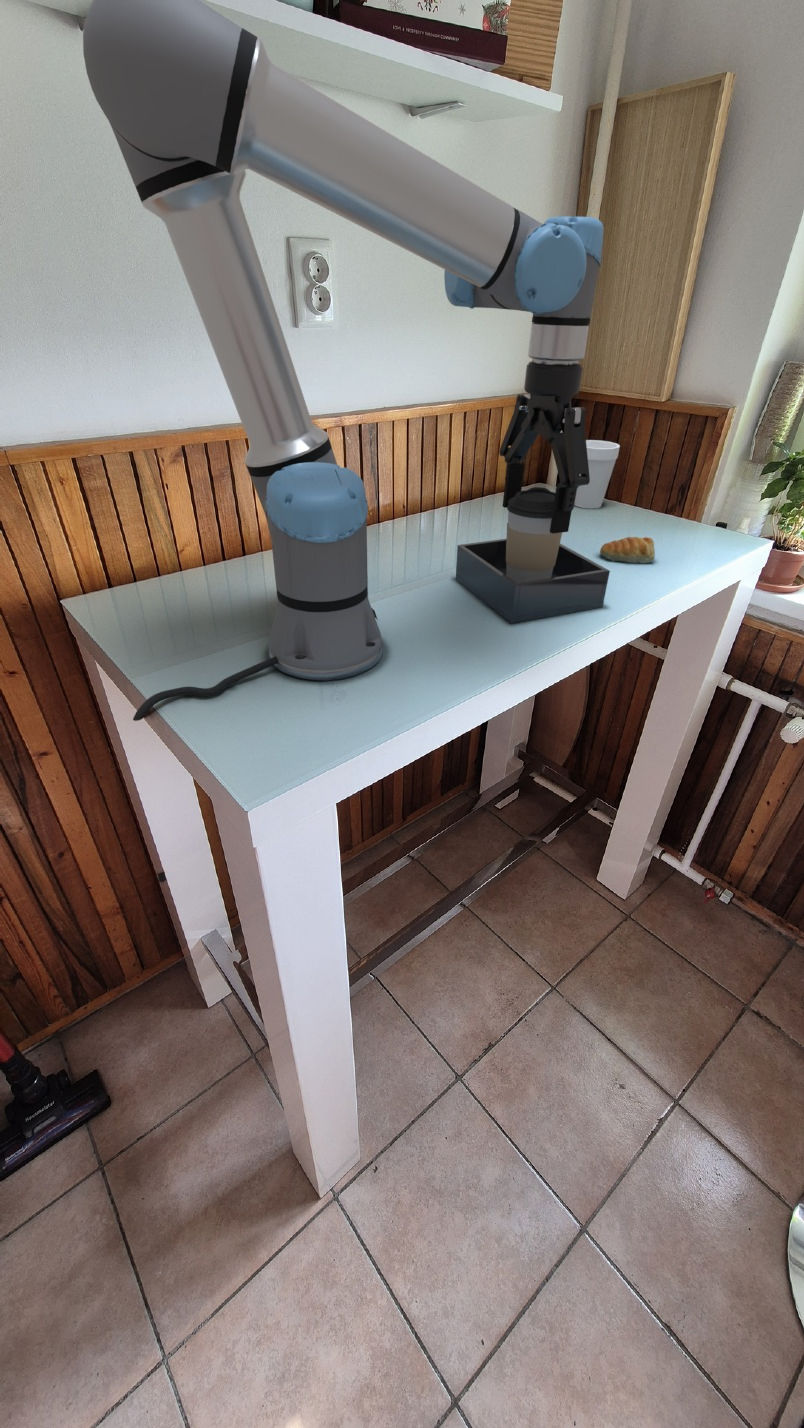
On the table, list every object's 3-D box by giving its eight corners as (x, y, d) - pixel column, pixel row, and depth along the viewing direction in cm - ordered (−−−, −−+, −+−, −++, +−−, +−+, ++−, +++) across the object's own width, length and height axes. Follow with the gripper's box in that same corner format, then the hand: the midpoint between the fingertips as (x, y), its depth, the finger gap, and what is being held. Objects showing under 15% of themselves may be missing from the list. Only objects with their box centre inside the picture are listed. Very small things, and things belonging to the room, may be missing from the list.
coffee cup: (555, 600, 101) (570, 503, 92) (497, 594, 102) (506, 498, 94) (555, 578, 108) (569, 486, 100) (501, 574, 110) (510, 483, 101)
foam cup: (567, 508, 145) (576, 447, 138) (565, 497, 153) (574, 439, 146) (610, 511, 144) (622, 449, 137) (606, 500, 152) (617, 441, 145)
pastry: (605, 564, 117) (608, 543, 115) (594, 551, 122) (598, 531, 120) (656, 564, 117) (660, 543, 115) (643, 551, 123) (647, 531, 121)
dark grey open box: (511, 623, 96) (515, 585, 92) (455, 579, 110) (457, 544, 107) (602, 607, 101) (610, 570, 98) (538, 566, 115) (542, 533, 112)
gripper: (638, 371, 79) (604, 541, 91) (529, 352, 98) (512, 495, 110) (588, 372, 76) (559, 547, 88) (486, 353, 95) (473, 498, 107)
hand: (533, 518), depth 99 cm, fingers open, 13 cm apart
